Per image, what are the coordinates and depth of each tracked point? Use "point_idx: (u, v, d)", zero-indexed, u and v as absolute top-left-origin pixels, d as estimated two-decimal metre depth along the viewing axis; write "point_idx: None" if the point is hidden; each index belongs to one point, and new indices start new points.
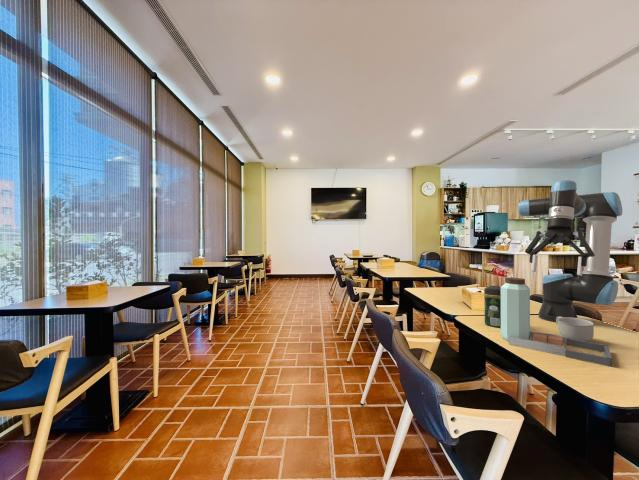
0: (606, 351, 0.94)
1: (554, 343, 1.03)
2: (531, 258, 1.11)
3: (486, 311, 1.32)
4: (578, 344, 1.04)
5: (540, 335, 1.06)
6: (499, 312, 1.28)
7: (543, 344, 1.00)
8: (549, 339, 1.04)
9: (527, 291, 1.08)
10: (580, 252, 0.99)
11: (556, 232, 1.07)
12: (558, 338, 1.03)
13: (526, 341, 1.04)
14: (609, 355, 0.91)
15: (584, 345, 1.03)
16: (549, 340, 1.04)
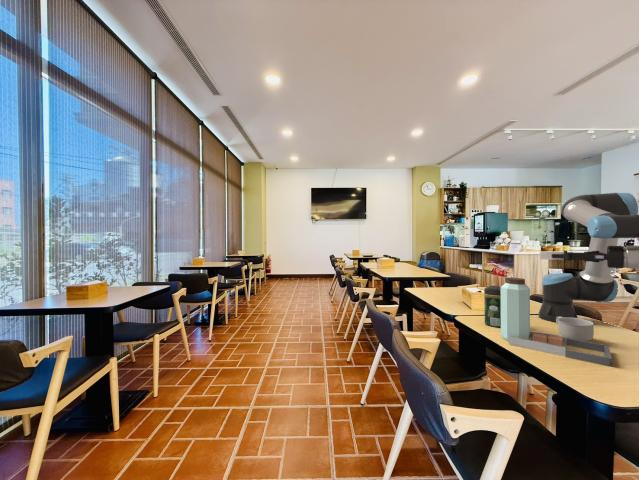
0: (606, 351, 0.94)
1: (554, 343, 1.03)
2: (558, 258, 0.98)
3: (486, 311, 1.32)
4: (578, 344, 1.04)
5: (540, 335, 1.06)
6: (499, 312, 1.28)
7: (543, 344, 1.00)
8: (549, 339, 1.04)
9: (527, 291, 1.08)
10: None
11: None
12: (558, 338, 1.03)
13: (526, 341, 1.04)
14: (609, 355, 0.91)
15: (584, 345, 1.03)
16: (549, 340, 1.04)
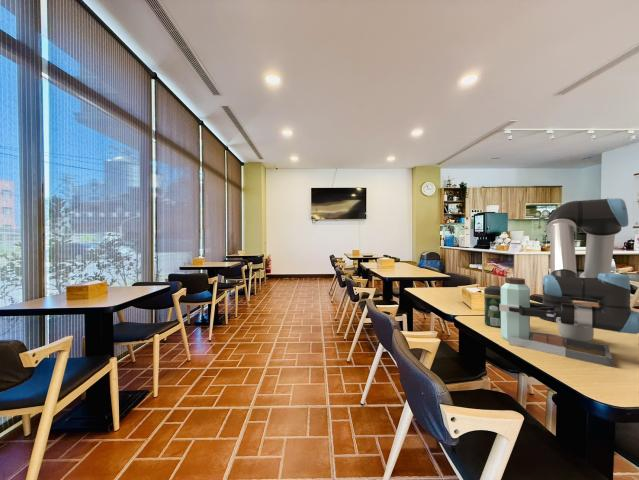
0: (606, 351, 0.94)
1: (554, 343, 1.03)
2: (514, 311, 1.08)
3: (486, 311, 1.32)
4: (578, 344, 1.04)
5: (540, 335, 1.06)
6: (499, 312, 1.28)
7: (543, 344, 1.00)
8: (549, 339, 1.04)
9: (527, 291, 1.08)
10: None
11: None
12: (558, 338, 1.03)
13: (526, 341, 1.04)
14: (609, 355, 0.91)
15: (584, 345, 1.03)
16: (549, 340, 1.04)
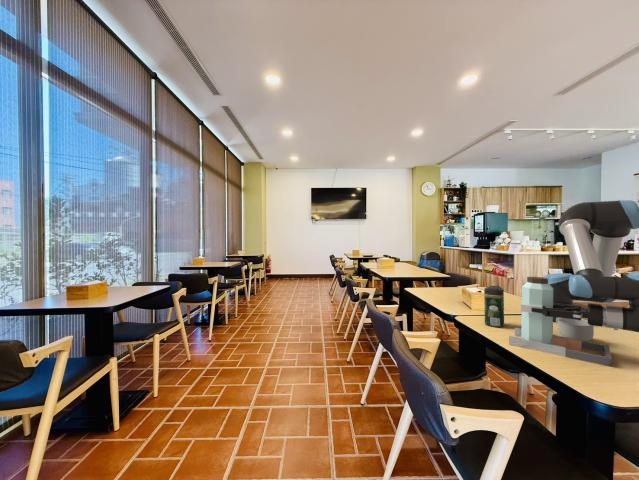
0: (606, 351, 0.94)
1: (573, 346, 0.99)
2: None
3: (486, 311, 1.32)
4: None
5: (559, 338, 1.02)
6: (499, 312, 1.28)
7: (543, 344, 1.00)
8: (567, 342, 1.00)
9: (551, 291, 1.03)
10: None
11: None
12: (577, 341, 0.99)
13: (526, 341, 1.04)
14: (609, 355, 0.91)
15: (584, 345, 1.03)
16: (567, 343, 1.00)
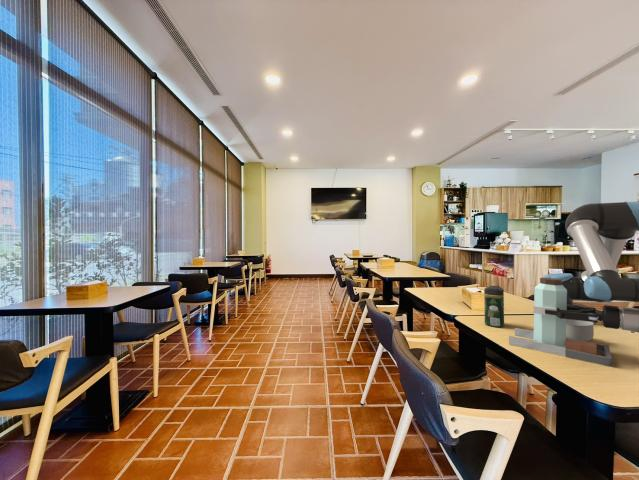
0: (606, 351, 0.94)
1: (587, 349, 0.97)
2: None
3: (486, 311, 1.32)
4: None
5: (573, 341, 1.00)
6: (499, 312, 1.28)
7: (543, 344, 1.00)
8: (582, 345, 0.98)
9: (565, 292, 1.00)
10: None
11: None
12: (591, 344, 0.97)
13: (526, 341, 1.04)
14: (609, 355, 0.91)
15: None
16: (581, 346, 0.98)
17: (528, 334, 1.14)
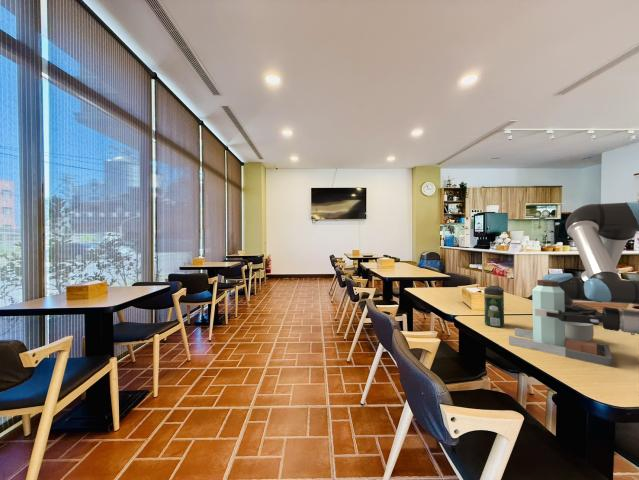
0: (606, 351, 0.94)
1: (588, 350, 0.97)
2: (552, 316, 0.99)
3: (486, 311, 1.32)
4: None
5: (573, 341, 1.00)
6: (499, 312, 1.28)
7: (543, 344, 1.00)
8: (582, 345, 0.98)
9: (562, 294, 1.01)
10: None
11: None
12: (592, 344, 0.97)
13: (526, 341, 1.04)
14: (609, 355, 0.91)
15: None
16: (582, 346, 0.98)
17: (528, 334, 1.14)
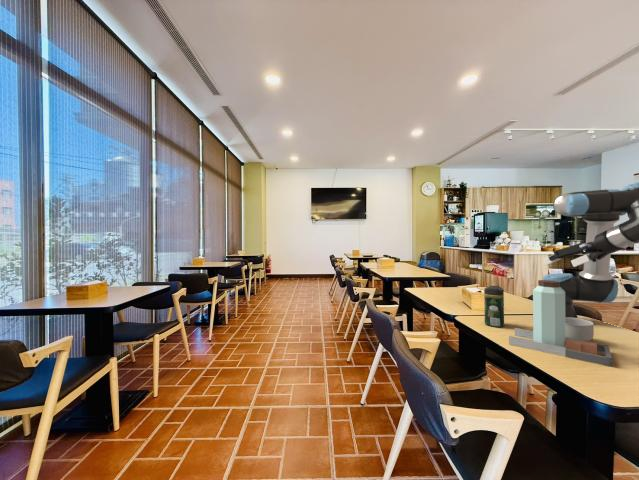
0: (606, 351, 0.94)
1: (588, 350, 0.97)
2: (554, 258, 1.07)
3: (486, 311, 1.32)
4: None
5: (573, 341, 1.00)
6: (499, 312, 1.28)
7: (543, 344, 1.00)
8: (582, 345, 0.98)
9: (563, 295, 1.01)
10: (594, 258, 1.07)
11: (599, 248, 0.99)
12: (592, 344, 0.97)
13: (526, 341, 1.04)
14: (609, 355, 0.91)
15: None
16: (582, 346, 0.98)
17: (528, 334, 1.14)
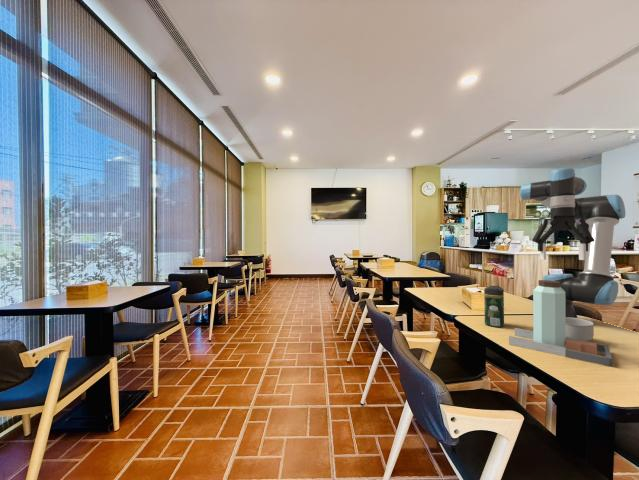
0: (606, 351, 0.94)
1: (588, 350, 0.97)
2: (541, 246, 1.13)
3: (486, 311, 1.32)
4: None
5: (573, 341, 1.00)
6: (499, 312, 1.28)
7: (543, 344, 1.00)
8: (582, 345, 0.98)
9: (564, 295, 1.01)
10: (584, 239, 1.09)
11: (562, 220, 1.11)
12: (592, 344, 0.97)
13: (526, 341, 1.04)
14: (609, 355, 0.91)
15: None
16: (582, 346, 0.98)
17: (528, 334, 1.14)
